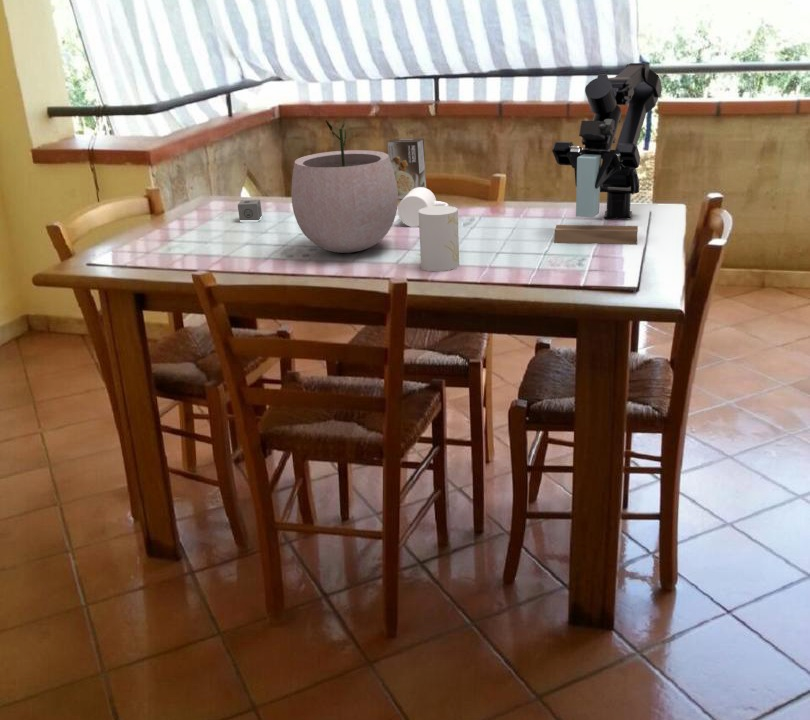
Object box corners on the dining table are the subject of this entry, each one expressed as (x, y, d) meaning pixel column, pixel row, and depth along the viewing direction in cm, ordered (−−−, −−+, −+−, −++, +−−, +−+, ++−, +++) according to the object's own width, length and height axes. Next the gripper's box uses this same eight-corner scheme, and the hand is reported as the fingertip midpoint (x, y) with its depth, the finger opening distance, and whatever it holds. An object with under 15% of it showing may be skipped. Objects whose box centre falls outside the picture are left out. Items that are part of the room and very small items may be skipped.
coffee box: (427, 195, 251) (425, 137, 245) (421, 200, 246) (418, 141, 239) (397, 194, 254) (394, 137, 248) (390, 199, 248) (386, 141, 242)
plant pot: (412, 236, 209) (406, 107, 198) (383, 266, 188) (374, 122, 176) (318, 234, 216) (307, 109, 204) (280, 262, 195) (265, 124, 183)
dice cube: (243, 218, 236) (241, 200, 234) (262, 217, 236) (260, 199, 234) (240, 223, 232) (237, 204, 230) (258, 222, 231) (256, 203, 229)
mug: (398, 227, 219) (396, 195, 216) (406, 217, 228) (405, 187, 225) (446, 227, 216) (444, 195, 213) (452, 217, 225) (451, 186, 222)
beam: (556, 237, 202) (556, 224, 201) (637, 238, 197) (637, 225, 196) (554, 242, 198) (554, 229, 197) (636, 244, 193) (637, 231, 192)
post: (581, 212, 198) (583, 154, 193) (599, 213, 197) (601, 154, 191) (575, 216, 195) (577, 157, 190) (593, 217, 193) (595, 158, 188)
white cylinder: (456, 271, 182) (454, 214, 177) (417, 271, 183) (415, 214, 179) (461, 260, 189) (460, 205, 184) (424, 260, 191) (422, 205, 186)
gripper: (555, 104, 194) (536, 164, 190) (639, 105, 185) (621, 168, 181) (567, 134, 204) (549, 192, 199) (647, 137, 195) (630, 197, 190)
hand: (586, 187), depth 192 cm, fingers closed on post, 4 cm apart
